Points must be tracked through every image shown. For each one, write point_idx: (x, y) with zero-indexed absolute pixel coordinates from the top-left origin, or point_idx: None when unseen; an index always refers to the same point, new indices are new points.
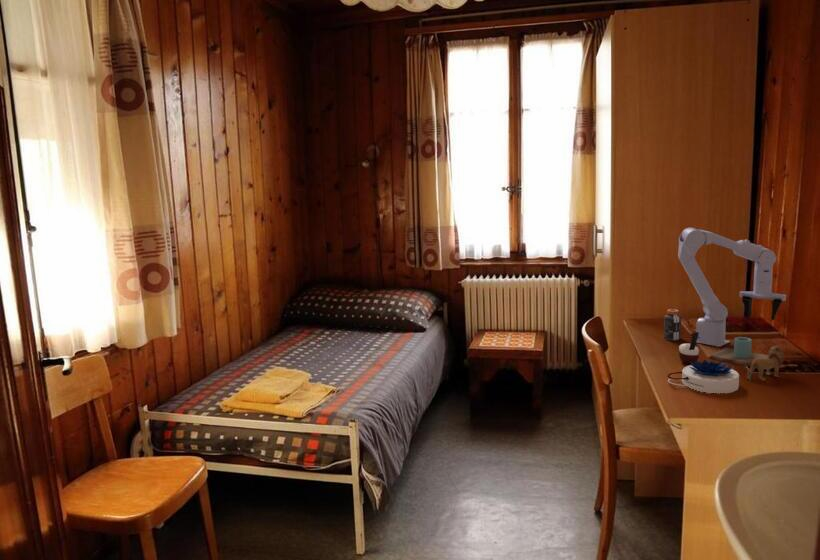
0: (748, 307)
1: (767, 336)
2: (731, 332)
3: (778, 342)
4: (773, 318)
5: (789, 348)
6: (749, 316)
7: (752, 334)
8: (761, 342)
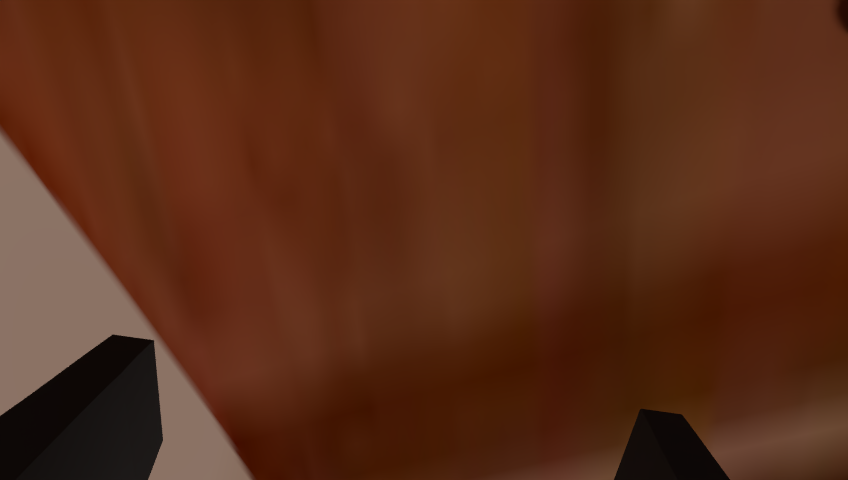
0: None
1: (379, 435)
2: (749, 474)
3: (234, 256)
4: (90, 354)
5: (52, 32)
6: (652, 420)
7: (529, 461)
8: (414, 193)
